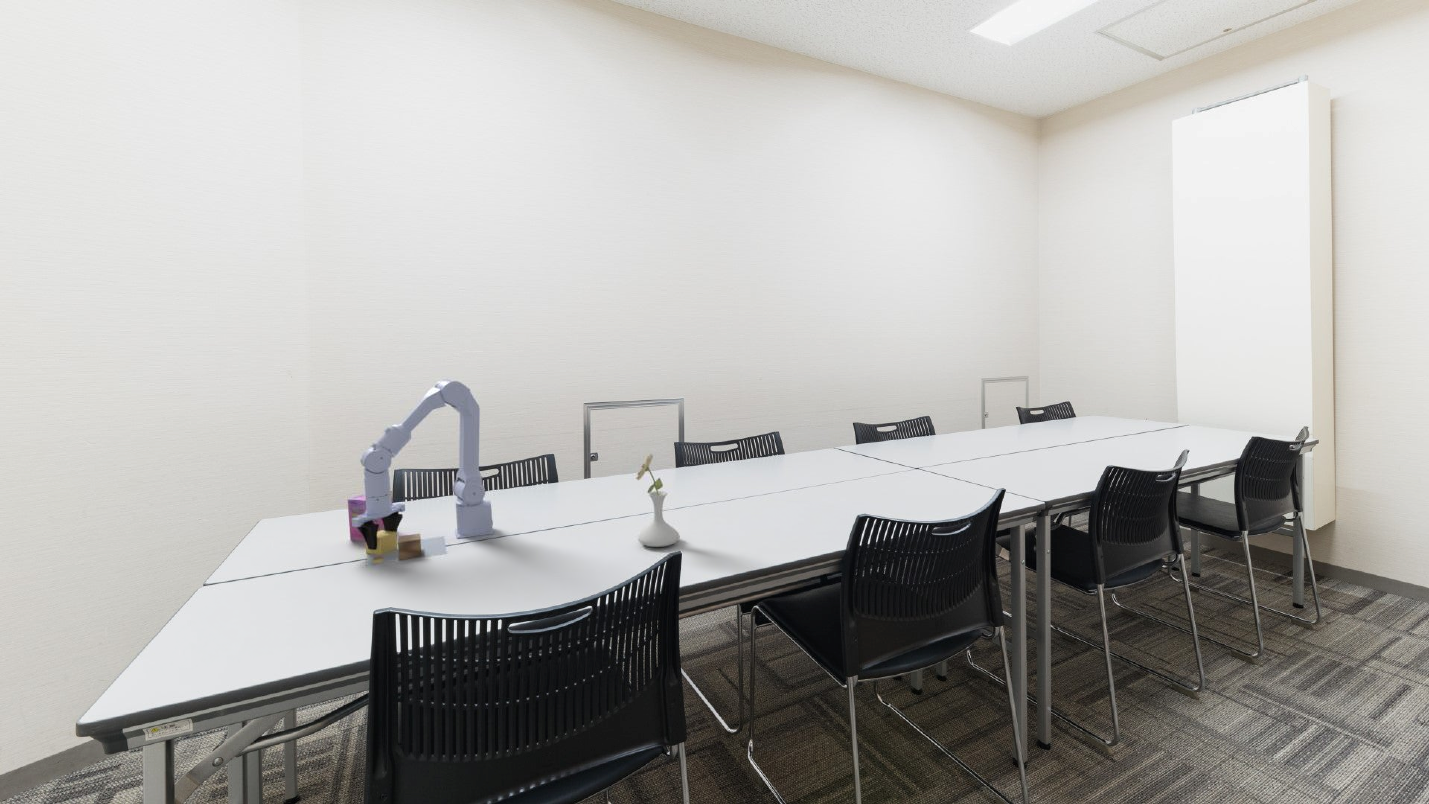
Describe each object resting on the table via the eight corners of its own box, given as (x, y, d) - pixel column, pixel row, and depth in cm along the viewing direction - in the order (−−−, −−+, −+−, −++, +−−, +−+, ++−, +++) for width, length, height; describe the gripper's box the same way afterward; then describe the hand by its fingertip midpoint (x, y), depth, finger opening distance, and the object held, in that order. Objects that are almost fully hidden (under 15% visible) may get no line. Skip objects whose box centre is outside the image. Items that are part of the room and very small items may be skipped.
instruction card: (444, 536, 166) (444, 535, 166) (446, 554, 152) (446, 553, 152) (370, 547, 158) (370, 546, 158) (365, 566, 144) (365, 565, 144)
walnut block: (421, 550, 155) (420, 533, 154) (421, 556, 150) (420, 539, 150) (399, 553, 152) (398, 536, 152) (399, 559, 148) (397, 542, 147)
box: (367, 542, 162) (364, 500, 161) (349, 540, 163) (346, 499, 162) (395, 530, 172) (392, 490, 171) (378, 528, 173) (375, 489, 172)
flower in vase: (653, 533, 167) (652, 446, 165) (687, 540, 162) (686, 450, 159) (624, 548, 156) (622, 455, 153) (660, 555, 150) (658, 459, 148)
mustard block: (382, 546, 158) (381, 530, 157) (397, 548, 156) (396, 531, 156) (366, 552, 153) (365, 536, 152) (381, 555, 151) (380, 538, 151)
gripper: (389, 486, 161) (392, 535, 162) (341, 500, 147) (345, 553, 149) (409, 488, 159) (413, 537, 160) (362, 503, 145) (366, 556, 147)
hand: (381, 545), depth 154 cm, fingers closed on mustard block, 5 cm apart
